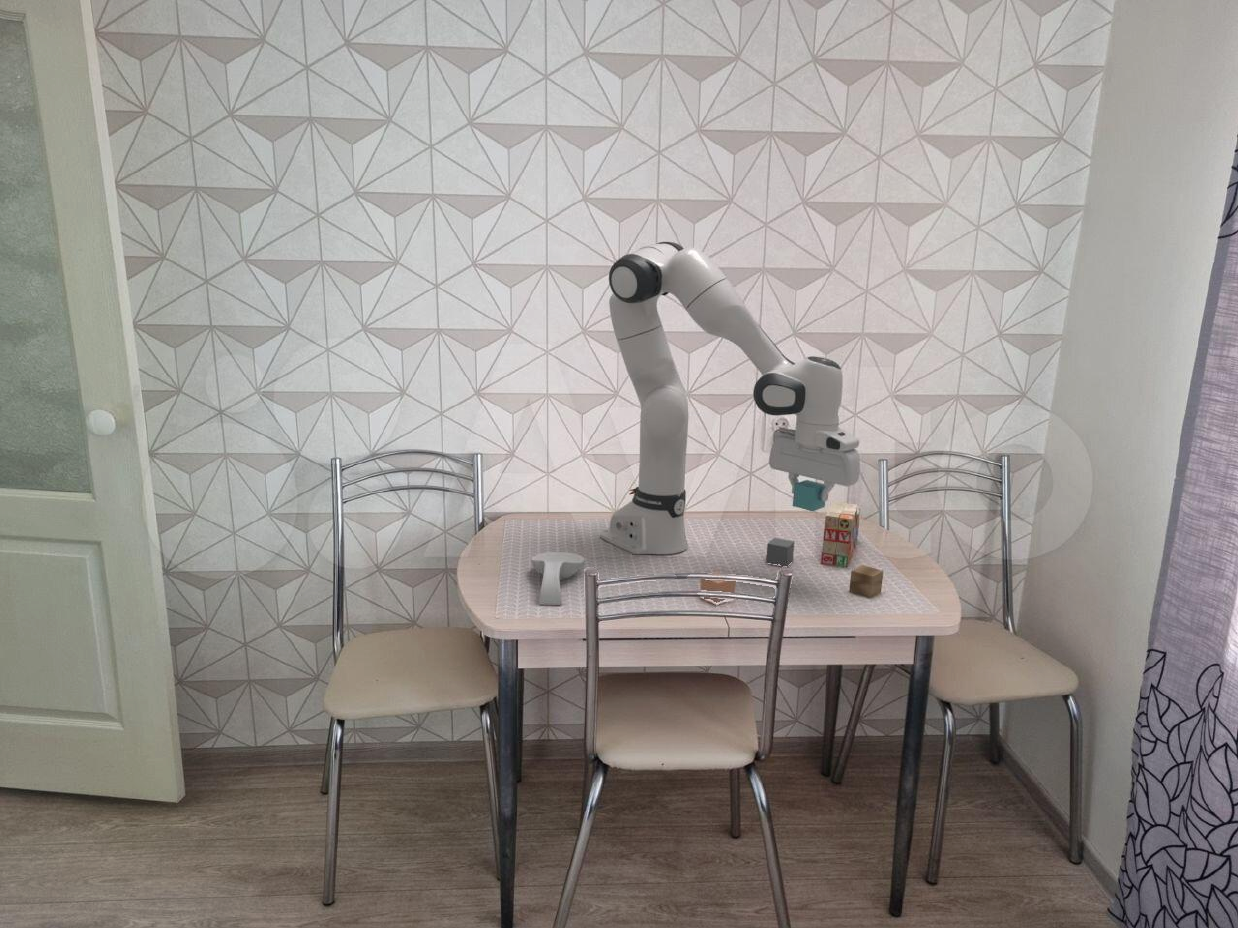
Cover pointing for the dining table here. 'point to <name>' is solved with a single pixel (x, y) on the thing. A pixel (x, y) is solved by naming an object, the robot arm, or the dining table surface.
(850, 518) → the stack of blocks
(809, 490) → the teal cube
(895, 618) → the dining table surface
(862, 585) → the walnut cube
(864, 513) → the dining table surface
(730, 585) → the terracotta cube
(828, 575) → the dining table surface
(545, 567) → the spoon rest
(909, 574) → the dining table surface
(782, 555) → the charcoal cube
